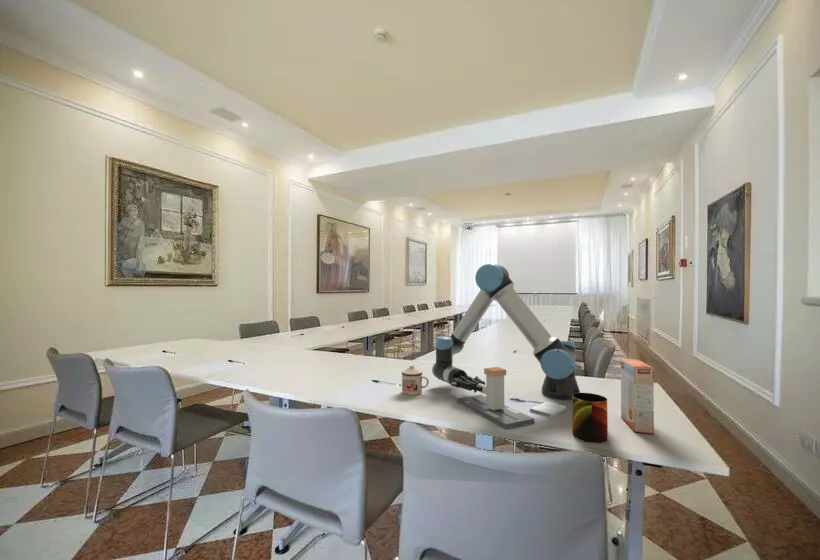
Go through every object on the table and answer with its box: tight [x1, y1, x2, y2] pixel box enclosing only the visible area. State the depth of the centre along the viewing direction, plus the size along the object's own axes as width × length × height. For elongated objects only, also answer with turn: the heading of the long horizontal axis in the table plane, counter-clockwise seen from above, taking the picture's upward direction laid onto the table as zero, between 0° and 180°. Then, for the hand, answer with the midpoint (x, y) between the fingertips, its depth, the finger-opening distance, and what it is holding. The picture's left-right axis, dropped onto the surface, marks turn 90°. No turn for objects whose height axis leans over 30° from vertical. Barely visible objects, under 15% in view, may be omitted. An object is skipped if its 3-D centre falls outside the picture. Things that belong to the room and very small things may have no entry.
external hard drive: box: [529, 401, 567, 418], centre depth 134 cm, size 2×8×12 cm
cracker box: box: [620, 358, 655, 435], centre depth 119 cm, size 14×6×21 cm, turn 164°
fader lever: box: [483, 366, 507, 410], centre depth 130 cm, size 5×6×14 cm
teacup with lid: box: [401, 364, 430, 396], centre depth 156 cm, size 12×9×12 cm
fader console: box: [455, 394, 535, 430], centre depth 132 cm, size 30×12×2 cm, turn 25°
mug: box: [571, 392, 609, 444], centre depth 112 cm, size 10×14×12 cm
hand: (489, 391), depth 132 cm, fingers closed
